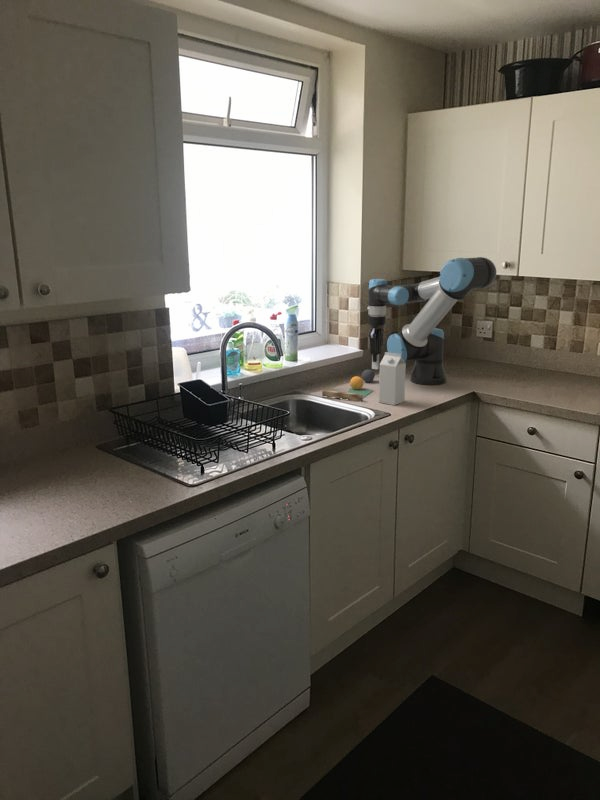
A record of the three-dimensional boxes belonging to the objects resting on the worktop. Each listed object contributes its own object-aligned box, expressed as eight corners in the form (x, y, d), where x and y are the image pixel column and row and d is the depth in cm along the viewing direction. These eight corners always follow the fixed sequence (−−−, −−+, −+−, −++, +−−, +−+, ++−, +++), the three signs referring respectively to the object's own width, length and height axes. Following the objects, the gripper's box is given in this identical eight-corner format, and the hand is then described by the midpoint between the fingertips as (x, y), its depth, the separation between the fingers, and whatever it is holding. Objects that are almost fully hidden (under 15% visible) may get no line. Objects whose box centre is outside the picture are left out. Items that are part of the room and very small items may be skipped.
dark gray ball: (376, 381, 282) (376, 368, 281) (372, 384, 278) (372, 371, 276) (364, 380, 285) (364, 367, 283) (359, 382, 280) (360, 370, 278)
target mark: (373, 390, 266) (373, 390, 266) (361, 399, 254) (361, 398, 254) (341, 387, 272) (341, 387, 272) (328, 395, 260) (328, 395, 260)
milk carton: (388, 398, 255) (389, 350, 250) (404, 401, 250) (406, 352, 245) (378, 402, 249) (379, 353, 244) (394, 405, 245) (396, 355, 240)
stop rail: (362, 400, 253) (362, 394, 252) (360, 401, 251) (360, 395, 250) (324, 396, 259) (324, 390, 258) (322, 397, 257) (322, 391, 257)
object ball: (365, 388, 270) (365, 375, 269) (360, 391, 265) (360, 378, 264) (352, 387, 272) (352, 374, 271) (347, 390, 268) (348, 377, 266)
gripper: (373, 312, 290) (372, 364, 296) (363, 316, 279) (362, 371, 285) (389, 313, 287) (387, 366, 293) (380, 318, 275) (378, 372, 282)
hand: (375, 368), depth 289 cm, fingers closed
